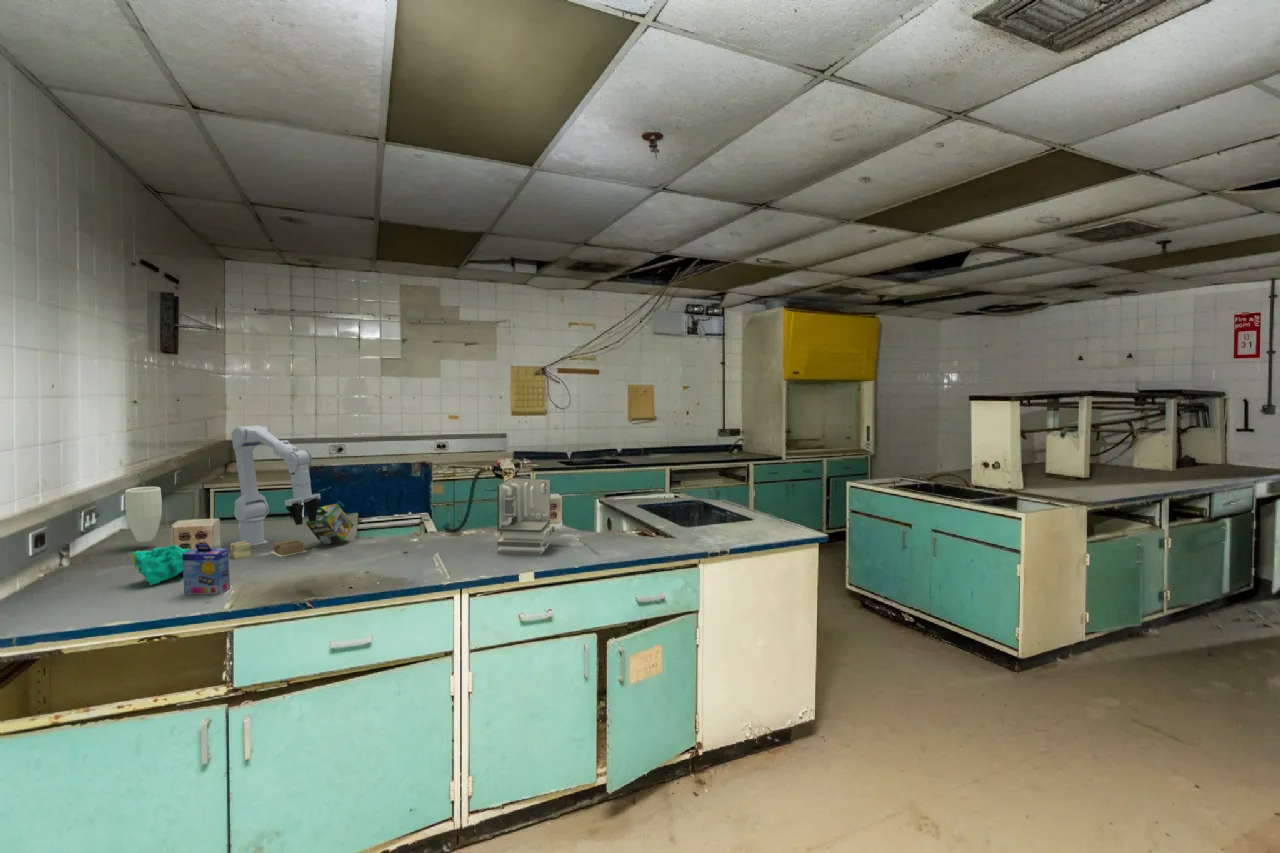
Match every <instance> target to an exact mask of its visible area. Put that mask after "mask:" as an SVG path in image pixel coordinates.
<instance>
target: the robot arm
mask: <svg viewBox="0 0 1280 853" xmlns="http://www.w3.org/2000/svg"><path fill="white" fill-rule="evenodd" d="M230 434H231V442H232V448H233V450H234V454H235V459H236V466H237V475H238V481H239V488H240V492H241V493H240V494H241V495H240V496H239V497H238V498H237V499H236V500H235V501H234V510H233V516H234V517H235V519H236V520H237V521H238V522H239V523H238V526H237V533H238V534H237V536H238V540H237V541H235V543H237V542H243V541H246V542H248V543H250V547H252V546H257V545H261V544H262V545H263V544H267V543H269V540H266V539H265V529H264V528H265V526H264V525H265V523H264V520H265V519H266V516H268V514H269V512H270V508H269V504H268V502H267V499H266V496H264V495H263V494H262V493H260V492H259V488H258V479H257V474H256V467H255V462H254V461H255V460H254V455H253V452H254V451H255V449H256V448H258V447H259V446H260V445H262V444H264V445H265V446H266V447H269V448H271V449H272V450H273V454H274V455H276V456H277V457H279V458H280V459H281V460H283V461H284V463H285V466H287V468H288V473H290V480H291V487H292V496H293V497H292V498H289V499H287V500H284V505H285V509H286V510H287V511H288V512H289V513H290V515H291V517H292V519H293V521H294V523H295V526H300V525H303V511H304V506H305V509H306V512H307V518H308V520H309V521H316V514H317V510H318V507H320V504H321V503H322V502H321V500H322V499H321V493H313V492H312V485H311V477H310V465H311V463H312V459H313V458H312V455H311V454H312V453H310V452H309V450H308V449H299V447H297V446H294V445H293V444H291V443H290V441H289V440H287V439H286V440H280V439H278V438H277V437H276V436H275V435H273V434H272V433H271V432H270V431H269V427H267V426H265V425H263V424H258V425H248V426H247V425H244V426H238V425H237V426H236V427H235V428H234V429H232V432H231V433H230ZM302 503H303V504H302Z"/></svg>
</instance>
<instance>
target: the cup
mask: <svg viewBox="0 0 1280 853" xmlns="http://www.w3.org/2000/svg"><path fill="white" fill-rule="evenodd" d="M124 492H125V493H124V495H125V499H124V500H125V501H124V502H125V504H124V505H125V514H126V520H127V522H128V525H129V530H131V533H132V535H133V537H134V539H135V540H136V541H137V542H138V543H145V542H150V541H154V540H155V537H156V536H157V534H158V530H159V528H160V525H161V520H162V515H163V502H162V489H161V487H159V486H141V487H140V486H139V487H132V488H128V489H126V490H125V491H124Z"/></svg>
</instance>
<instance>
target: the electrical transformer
mask: <svg viewBox="0 0 1280 853" xmlns="http://www.w3.org/2000/svg"><path fill="white" fill-rule="evenodd" d="M496 486H497V488H496V494H497V496H496V498H497V499H496V501H497V503H496V504H497V505H496V506H497V507H496V509H497V510H496V516H497V519H496V520H497V523H496V524H497V526H496V527H497V528H496V529H497V532H502V534H501V536H502V537H501V538H500V539H498V540H497V544H496V545H497V546H499V548H497V555H504V556H505V555H510V556H532V555H538V556H539V555H541V554H542V555H543V554H544V552H545V551H546V550H545V549H547V548H548V547H549V546H550V545H549V544H551V540H550V539H549V538H551V536H552V534H553V533H556V532H558V527H556V526H554V525H551V524H550V523H551V479H549V478H547V479H545V478H513V477H511V478H507V479H506V480H504V481H503V482H500V483H499V484H497V485H496ZM542 555H541V556H542ZM539 557H540V556H539Z"/></svg>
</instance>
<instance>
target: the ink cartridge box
mask: <svg viewBox="0 0 1280 853" xmlns="http://www.w3.org/2000/svg"><path fill="white" fill-rule="evenodd" d="M194 545H195V548H191V549H190V551H187V552H185V553H183V554H182V560H183V572H182V576H183V595H184V594H218V595H221V594H222V593H224V592H226V591H228V590H229V589H231V581H230V565H229V550H228V548H218V547H217V548H211V546H210V545H209V543H208V544H205V543H204V544H202V543H201V544H194ZM220 593H221V594H220Z"/></svg>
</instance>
